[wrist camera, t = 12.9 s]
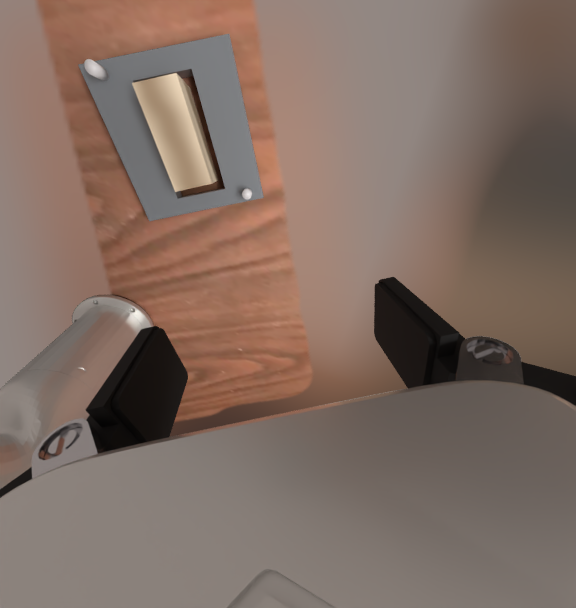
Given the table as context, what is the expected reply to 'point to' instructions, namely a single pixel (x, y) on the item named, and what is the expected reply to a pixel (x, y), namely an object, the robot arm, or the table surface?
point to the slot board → (217, 109)
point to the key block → (177, 130)
